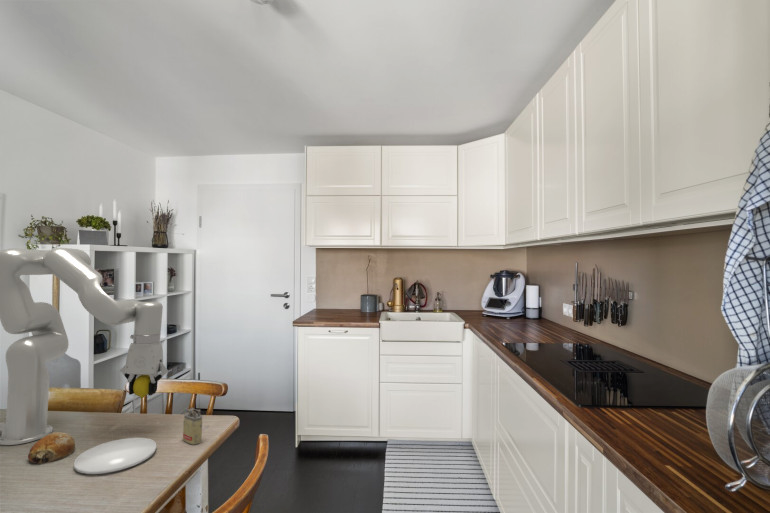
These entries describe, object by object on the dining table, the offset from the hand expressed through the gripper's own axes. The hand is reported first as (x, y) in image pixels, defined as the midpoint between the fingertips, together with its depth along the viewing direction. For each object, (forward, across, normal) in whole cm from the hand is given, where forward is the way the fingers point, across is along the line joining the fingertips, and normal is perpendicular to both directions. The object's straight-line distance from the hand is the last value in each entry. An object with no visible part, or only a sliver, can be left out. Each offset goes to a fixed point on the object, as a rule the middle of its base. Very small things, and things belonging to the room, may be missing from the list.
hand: (142, 393), depth 123 cm
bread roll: (+14, -15, -16) cm, 26 cm away
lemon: (+2, 0, 0) cm, 2 cm away
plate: (+13, +4, -17) cm, 22 cm away
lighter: (+12, +20, -6) cm, 24 cm away
